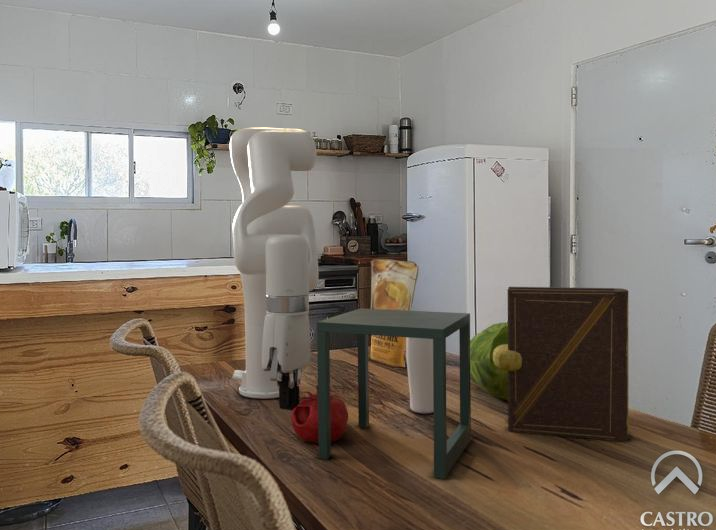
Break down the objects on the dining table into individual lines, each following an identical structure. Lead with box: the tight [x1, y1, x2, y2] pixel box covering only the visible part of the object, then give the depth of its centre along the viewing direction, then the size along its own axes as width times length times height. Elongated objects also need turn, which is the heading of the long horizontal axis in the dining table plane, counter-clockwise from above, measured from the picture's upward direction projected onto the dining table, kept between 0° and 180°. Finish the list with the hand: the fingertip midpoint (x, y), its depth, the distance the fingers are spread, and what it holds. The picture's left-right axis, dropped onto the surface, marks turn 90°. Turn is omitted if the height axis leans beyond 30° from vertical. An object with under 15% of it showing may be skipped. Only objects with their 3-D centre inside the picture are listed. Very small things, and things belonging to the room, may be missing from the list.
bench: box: [316, 307, 472, 480], centre depth 97 cm, size 20×18×22 cm
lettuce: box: [470, 321, 508, 402], centre depth 129 cm, size 17×23×16 cm
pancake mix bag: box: [369, 258, 419, 368], centre depth 163 cm, size 7×19×28 cm, turn 28°
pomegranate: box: [290, 384, 349, 445], centre depth 103 cm, size 10×10×9 cm
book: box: [493, 286, 629, 442], centre depth 105 cm, size 22×8×25 cm, turn 71°
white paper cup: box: [405, 337, 434, 414], centre depth 118 cm, size 7×7×15 cm
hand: (289, 408), depth 106 cm, fingers closed
